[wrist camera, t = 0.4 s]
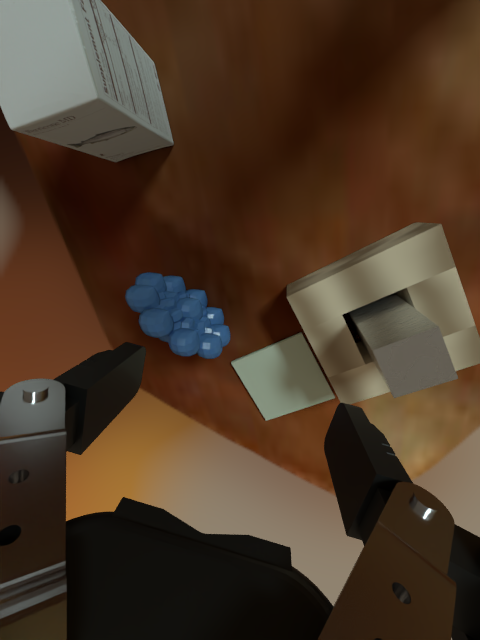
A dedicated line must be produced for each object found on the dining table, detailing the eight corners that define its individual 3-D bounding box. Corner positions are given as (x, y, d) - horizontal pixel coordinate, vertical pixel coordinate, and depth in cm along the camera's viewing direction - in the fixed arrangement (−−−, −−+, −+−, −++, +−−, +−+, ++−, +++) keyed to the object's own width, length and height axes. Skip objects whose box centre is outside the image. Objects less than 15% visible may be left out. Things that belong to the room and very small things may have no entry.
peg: (383, 285, 30) (438, 326, 19) (398, 320, 31) (458, 378, 20) (343, 303, 31) (372, 350, 20) (358, 335, 32) (394, 398, 21)
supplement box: (115, 164, 30) (5, 132, 19) (91, 83, 28) (-52, -12, 16) (176, 147, 29) (98, 100, 17) (156, 59, 26) (50, -65, 15)
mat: (301, 332, 33) (301, 333, 33) (334, 396, 36) (335, 398, 35) (231, 361, 36) (231, 363, 36) (266, 418, 39) (266, 420, 38)
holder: (415, 222, 27) (441, 223, 23) (457, 339, 30) (487, 361, 26) (287, 285, 32) (286, 297, 27) (335, 381, 35) (342, 406, 30)
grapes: (146, 288, 35) (79, 322, 24) (178, 250, 32) (120, 268, 21) (212, 350, 36) (177, 409, 25) (247, 318, 34) (227, 368, 23)
